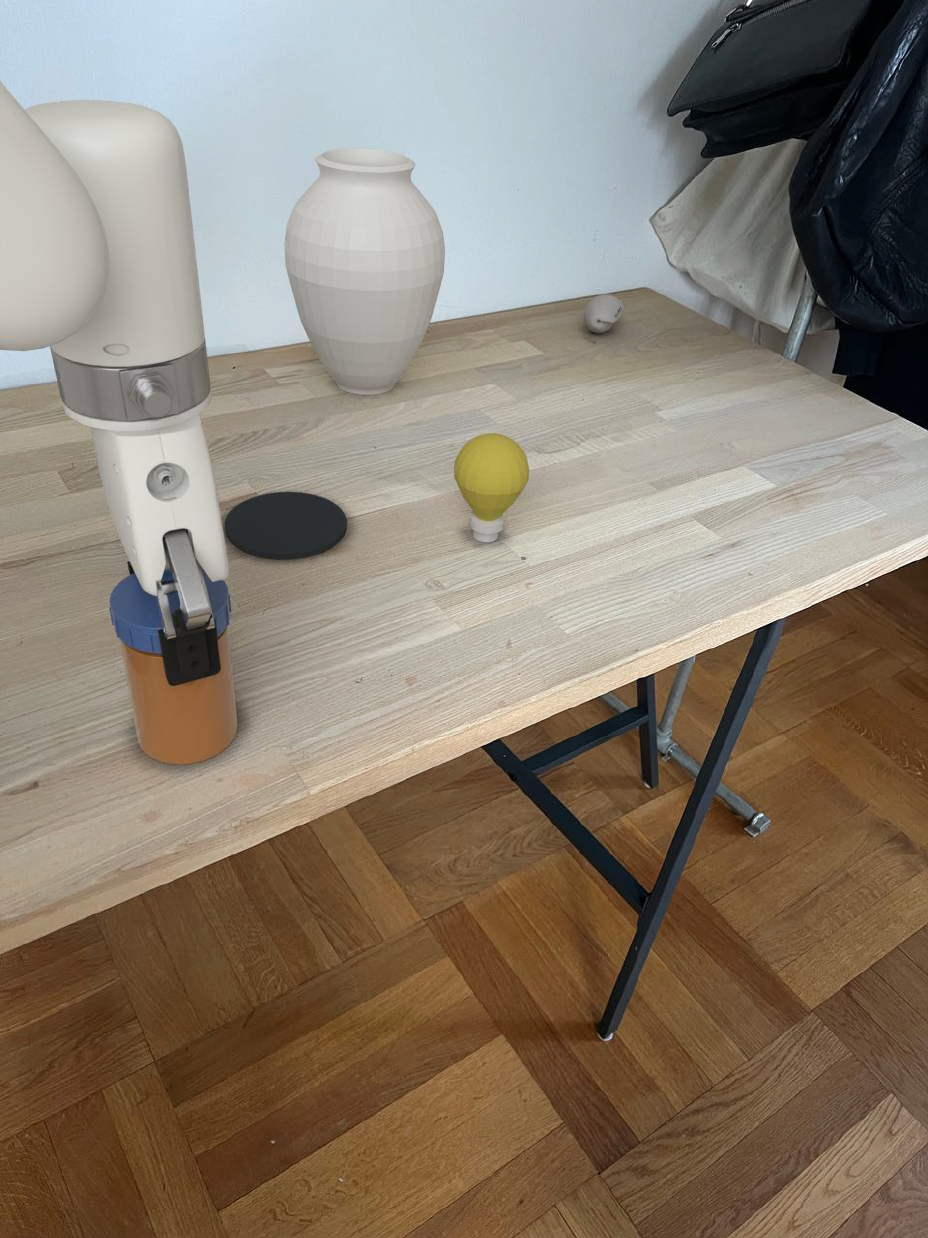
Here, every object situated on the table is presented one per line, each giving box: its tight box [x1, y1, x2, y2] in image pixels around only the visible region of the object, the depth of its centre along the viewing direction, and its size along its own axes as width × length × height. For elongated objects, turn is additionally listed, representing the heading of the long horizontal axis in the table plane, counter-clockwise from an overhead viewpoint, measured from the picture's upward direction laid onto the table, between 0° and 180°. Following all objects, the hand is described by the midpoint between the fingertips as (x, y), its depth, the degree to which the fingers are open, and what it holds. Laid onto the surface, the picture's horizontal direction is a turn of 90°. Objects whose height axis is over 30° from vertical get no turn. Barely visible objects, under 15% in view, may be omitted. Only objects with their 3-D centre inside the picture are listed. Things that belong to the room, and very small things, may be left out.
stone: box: [583, 293, 625, 334], centre depth 131 cm, size 10×5×5 cm, turn 165°
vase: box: [284, 147, 446, 396], centre depth 105 cm, size 18×18×25 cm
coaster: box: [224, 491, 348, 560], centre depth 85 cm, size 11×11×1 cm
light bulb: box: [453, 432, 530, 543], centre depth 83 cm, size 7×7×10 cm
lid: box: [108, 568, 232, 654], centre depth 57 cm, size 7×7×2 cm
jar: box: [118, 625, 238, 765], centre depth 60 cm, size 7×7×11 cm
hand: (177, 639), depth 59 cm, fingers closed on lid, 7 cm apart
